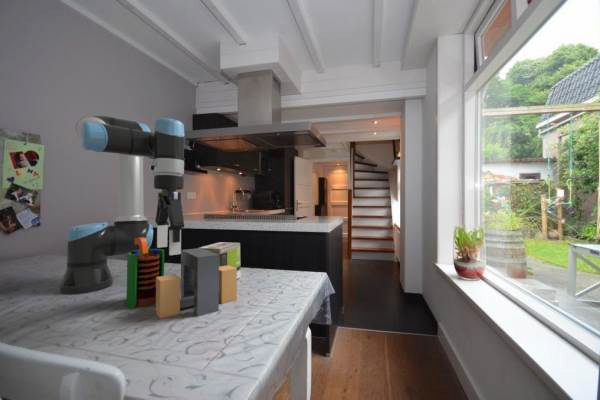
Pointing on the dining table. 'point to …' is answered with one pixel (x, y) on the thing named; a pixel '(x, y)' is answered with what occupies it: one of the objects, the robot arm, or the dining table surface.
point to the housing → (200, 279)
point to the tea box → (227, 254)
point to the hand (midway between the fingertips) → (168, 250)
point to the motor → (143, 274)
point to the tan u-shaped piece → (171, 302)
